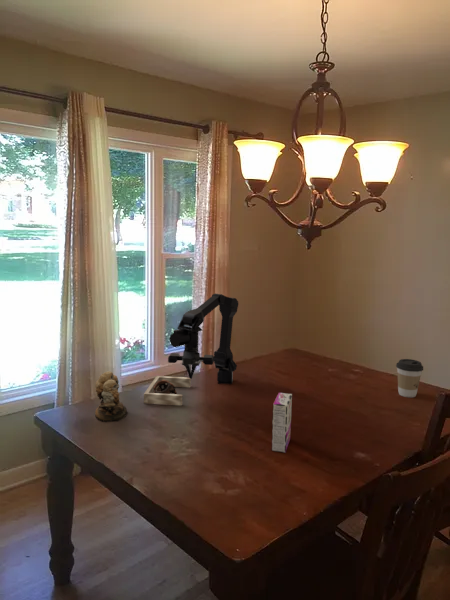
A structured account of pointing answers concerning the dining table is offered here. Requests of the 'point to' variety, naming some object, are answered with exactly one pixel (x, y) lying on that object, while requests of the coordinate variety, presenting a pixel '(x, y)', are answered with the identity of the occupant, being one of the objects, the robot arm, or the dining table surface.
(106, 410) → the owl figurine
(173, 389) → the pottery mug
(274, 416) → the candy bar box
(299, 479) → the dining table surface
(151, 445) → the dining table surface
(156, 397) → the birch bracket
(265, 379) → the dining table surface
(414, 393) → the coffee cup
